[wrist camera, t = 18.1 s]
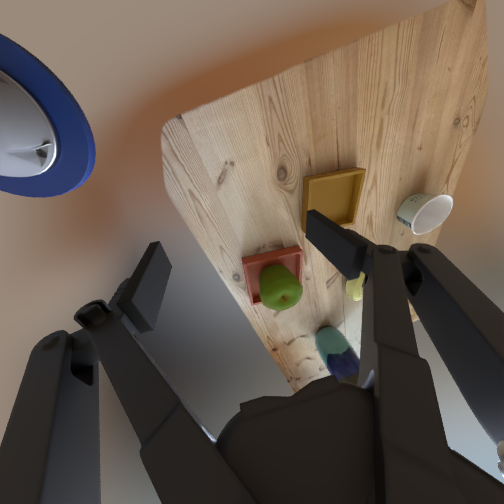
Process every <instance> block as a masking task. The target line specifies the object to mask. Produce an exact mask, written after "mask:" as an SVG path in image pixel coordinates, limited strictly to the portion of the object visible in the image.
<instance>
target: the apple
mask: <svg viewBox="0 0 504 504" xmlns="http://www.w3.org/2000/svg"><path fill="white" fill-rule="evenodd" d="M302 292H303V287H302V284H301V283H300V281H299V280H298V279H297V277H296V276H295V275H293V274H292V273H291V272H290V271H289V270H288V268H287V267H285V266H283V265H273V266H270V267H267V268H266V269H264V270H263V271H262V273H261V274H260V276H259V294H260V298H261V301H262V304H263V305H264V306H266V307H267V308H270V309H273V310H285V309H288V308H290V307H292V306H294V305H295V304H296V303H297V302H298V301H299V300H300V298H301V296H302Z"/></svg>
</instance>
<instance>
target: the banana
mask: <svg viewBox="0 0 504 504" xmlns="http://www.w3.org/2000/svg"><path fill="white" fill-rule="evenodd" d="M364 277H365V274H364V273H363V272H362V271H361V273H360V277H359V278H357V279H353V280H348V279H347V282H346V288H345V291H346V294H347V296H349V297H350V298H351V299H353V300H355V301H358V300H360V299H362V294H361V288H362V284H363V280H364Z"/></svg>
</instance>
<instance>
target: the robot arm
mask: <svg viewBox="0 0 504 504" xmlns="http://www.w3.org/2000/svg"><path fill="white" fill-rule="evenodd" d="M60 153H61V142H60V137H59V133H58V131H57V128H56V126H55V124H54V121H53V120H52V118H51V116H50V115H49V113H48V112H47V110H46V109H45V107H44V106H43V105H42V103H41V102H40V101H39V100H38V99H37V98H36V97H35V95H34V94H33V93H32V92H31V91H30V90H29V89H27V88H26V87H25V86H24V85H23V84H22V83H21V82H19V81H18V80H17V79H16V78H14V77H13V76H12V75H10V74H9V73H7V72H6V71H4V70H2V69H1V68H0V175H2V176H9V177H30V176H35V175H40V174H43V173H46V172H48V171H49V170H51V169H52V168H53V167H54V166H55V165H56V164H57V162H58V160H59V157H60ZM305 237H306V238H307V239H308V240H309V241H310V242H311V243H312V244H313V245H314V246H315V247H316V248H317V249H318V250H319V251H320V252H321V253H322V254H323V255H324V256H325V257H326V258H327V259H328V260H329V261H330V262H331V263H332V264H333V265H334V266H335V267H336V268H337V269H338V270H339V271H340V272H341V273H342V274H343V275H344V276H345V277H346V278H347V279H348V280H353V279H357V278H359V277H360V273H361V271H362V272H363V273H364V274H365V277H364V280H363V284H362V287H364V289H363V309H362V330H361V350H360V370H359V377H358V382H357V385H354V384H351V383H348V382H342V381H337V379H336V377H335V375H334V374H333V375H330V376H327V377H324V378H321V379H317V380H314V381H312V382H310V383H309V384H307V385H306V386H305V387H303V388H302V389H301V390H299V391H298V392H297V393H295V394H294V395H292V396H290V397H281V396H263V397H260V398H257V399H253V400H250V401H247V402H244V403H240V410H241V411H240V412H239V413H237V414H236V415H235V416H234V417H233V418H232V419H231V420H230V421H229V422H228V423H227V424H226V426H225V427H224V429H223V430H222V432H221V433H220V435H219V437H218V439H217V440H216V438H215V437H214V436H213V435H212V433H211V432H210V431H209V430H208V429H207V427H206V426H205V425H204V424H203V423H202V421H201V420H200V419H199V417H198V416H197V415H196V414H195V412H194V411H193V410H192V409H191V407H190V406H189V405H188V403H187V402H186V401H185V399H184V398H183V397H182V396H181V394H180V393H179V392H178V390H177V389H176V388H175V387H174V385H173V384H172V383H171V382H170V380H169V379H168V378H167V376H166V375H165V374H164V372H163V371H162V370H161V369H160V367H159V366H158V365H157V363H156V362H155V361H154V360H153V358H152V357H151V356H150V354H149V353H148V352H147V351H146V349H145V348H144V347H143V345H142V344H141V343H140V342H139V340H138V339H137V338H136V336H135V335H134V332H135V330H136V329H137V330H138V331H139V332H140V333H141V334H142V333H146V332H150V331H153V330H154V328H155V324H156V321H157V317H158V314H159V310H160V307H161V303H162V300H163V296H164V293H165V289H166V286H167V282H168V279H169V275H170V271H171V268H172V266H171V264H170V262H169V259H168V257H167V255H166V253H165V251H164V249H163V247H162V245H161V243H160V241H158V242H153V243H150V244H149V246H148V248H147V250H146V251H145V253H144V255H143V257H142V259H141V260H140V262H139V264H138V266H137V268H136V269H135V271H134V273H133V275H132V276H131V278H127V279H125V280H124V281H123V282H122V283H121V284H120V286H119V287H118V289H117V291H116V292H115V294H114V296H113V297H112V299H111V300H110V302H109V304H108V305H107V303H106V302H105V301H104V300H95V301H92V302H90V303H88V304H86V305H84V306H83V307H81V308H80V309H79V310H78V311H77V312H76V314H75V315H74V320H75V321H76V322H77V323H79V324H80V325H81V326H82V327H83V329H81V330H78V331H76V332H74V333H72V334H69V333H68V332H66V331H64V330H60V331H56V332H54V333H51V334H50V335H48V336H46V337H44V338H43V339H42V340H41V341H39V343H37V345H36V346H35V347H34V348H33V350H32V352H31V354H30V357H29V361H28V363H27V366H26V370H25V373H24V376H23V379H22V382H21V385H20V388H19V391H18V394H17V397H16V400H15V403H14V407H13V409H12V413H11V416H10V419H9V422H8V424H7V428H6V431H5V434H4V437H3V440H2V443H1V446H0V504H101V494H100V433H99V432H100V431H99V371H98V362H99V361H101V363H102V365H103V367H104V369H105V371H106V373H107V375H108V377H109V379H110V381H111V383H112V385H113V387H114V389H115V391H116V393H117V396H118V398H119V399H120V402H121V404H122V406H123V408H124V409H125V412H126V414H127V416H128V418H129V420H130V422H131V424H132V426H133V428H134V430H135V432H136V434H137V436H138V438H139V440H140V443H141V449H140V456H141V459H142V462H143V464H144V466H145V469H146V471H147V473H148V475H149V477H150V479H151V481H152V484H153V486H154V488H155V490H156V492H157V494H158V496H159V499H160V501H161V503H162V504H504V484H503V483H501V482H500V481H499V480H497V479H496V478H494V477H493V476H491V475H490V474H488V473H487V472H485V471H484V470H482V469H481V468H479V467H478V466H477V465H475V464H474V463H472V462H471V461H469V460H468V459H466V458H465V457H464V456H462V455H461V454H459V453H458V452H456V451H455V450H453V449H452V448H450V447H449V446H448V444H447V440H446V436H445V431H444V427H443V422H442V418H441V414H440V410H439V405H438V401H437V396H436V392H435V387H434V383H433V379H432V374H431V370H430V367H429V364H428V362H427V361H426V360H425V359H423V358H420V356H419V354H418V349H417V344H416V339H415V334H414V329H413V323H412V318H411V313H410V308H409V303H408V300H409V302H410V303H411V305H412V307H413V309H414V310H415V312H416V314H417V316H418V317H419V319H420V321H421V323H422V324H423V326H424V328H425V330H426V332H427V333H428V335H429V337H430V338H431V340H432V342H433V344H434V345H435V347H436V349H437V351H438V353H439V354H440V356H441V358H442V360H443V361H444V363H445V365H446V367H447V368H448V370H449V372H450V374H451V375H452V377H453V379H454V381H455V382H456V384H457V386H458V387H459V389H460V391H461V393H462V395H463V396H464V398H465V400H466V402H467V404H468V405H469V407H470V408H471V410H472V412H473V413H474V415H475V416H476V418H477V420H478V421H479V423H480V424H481V425H482V427H483V428H484V430H485V431H486V433H487V434H488V435H489V436H490V438H491V439H492V441H493V442H494V443H495V444H496V446H497V453H498V456H499V458H500V461H499V462H498V468H499V470H500V472H501V474H502V475H503V477H504V313H503V312H502V311H501V310H500V309H499V308H498V307H497V306H496V305H495V304H494V303H493V302H492V301H491V300H490V299H489V298H488V297H487V296H486V295H485V294H484V293H483V292H482V291H481V290H480V289H478V288H477V287H476V286H475V285H474V284H473V283H472V282H471V281H470V280H469V279H468V278H467V277H466V276H465V275H464V274H463V273H462V272H461V271H460V270H459V269H458V268H457V267H456V266H455V265H454V264H453V263H452V262H451V261H449V260H448V259H447V258H446V257H445V256H444V255H443V254H442V253H441V252H440V251H439V250H438V249H437V248H435V247H433V246H431V245H428V244H421V243H416V244H412V245H411V246H410V248H409V251H398V250H397V249H395V248H394V247H391V246H388V245H376V244H374V243H373V242H371V241H369V240H368V239H366V238H365V237H364V238H363V236H361V235H359V234H358V233H357V232H355V231H353V230H350V229H344V228H343V227H341V226H340V225H338V224H337V223H335V222H333V221H332V220H330V219H329V218H327V217H326V216H324V215H323V214H321V213H320V212H318V211H317V210H315V209H312V210H308V211H307V213H306V235H305Z"/></svg>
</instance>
